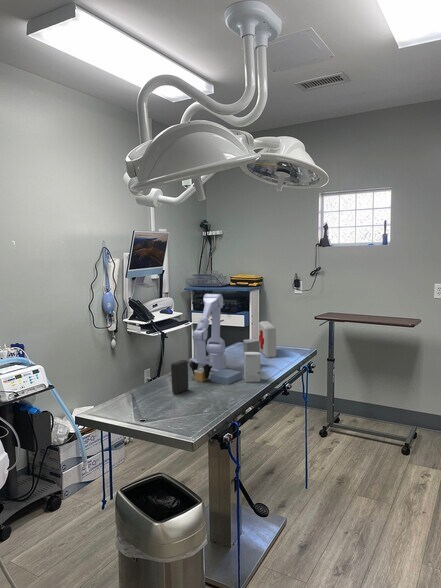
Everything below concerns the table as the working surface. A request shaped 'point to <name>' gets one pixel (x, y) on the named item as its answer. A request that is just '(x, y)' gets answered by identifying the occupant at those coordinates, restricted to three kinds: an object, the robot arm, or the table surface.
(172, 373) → the card reader
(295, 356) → the table surface
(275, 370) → the table surface
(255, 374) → the skincare box
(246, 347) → the skincare box
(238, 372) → the box
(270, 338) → the bevelled white case
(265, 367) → the table surface
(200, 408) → the table surface
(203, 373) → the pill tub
